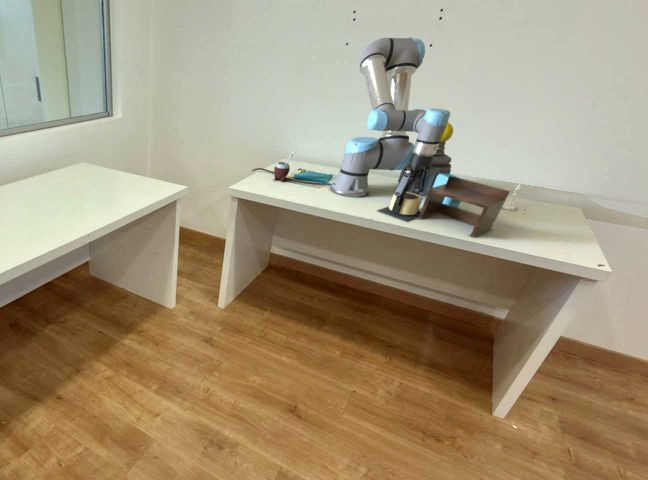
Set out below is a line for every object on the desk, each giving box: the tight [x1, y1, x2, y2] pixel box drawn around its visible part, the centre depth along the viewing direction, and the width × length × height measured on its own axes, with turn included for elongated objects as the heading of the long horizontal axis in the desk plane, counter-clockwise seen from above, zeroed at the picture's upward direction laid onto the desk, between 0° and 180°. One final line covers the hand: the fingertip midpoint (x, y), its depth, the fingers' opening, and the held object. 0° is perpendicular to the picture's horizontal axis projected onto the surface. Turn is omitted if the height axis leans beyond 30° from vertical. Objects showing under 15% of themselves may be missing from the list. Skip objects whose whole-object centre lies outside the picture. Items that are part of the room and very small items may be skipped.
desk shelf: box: [417, 175, 511, 238], centre depth 152 cm, size 20×13×15 cm, turn 32°
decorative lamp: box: [397, 122, 454, 197], centre depth 181 cm, size 19×19×30 cm
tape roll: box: [388, 192, 423, 215], centre depth 162 cm, size 10×10×6 cm
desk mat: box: [377, 206, 421, 222], centre depth 165 cm, size 12×14×1 cm
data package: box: [433, 173, 462, 208], centre depth 169 cm, size 12×4×12 cm, turn 6°
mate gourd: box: [273, 149, 299, 183], centre depth 194 cm, size 8×8×15 cm
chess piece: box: [501, 184, 521, 211], centre depth 168 cm, size 5×5×10 cm
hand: (402, 209), depth 164 cm, fingers closed on tape roll, 10 cm apart
